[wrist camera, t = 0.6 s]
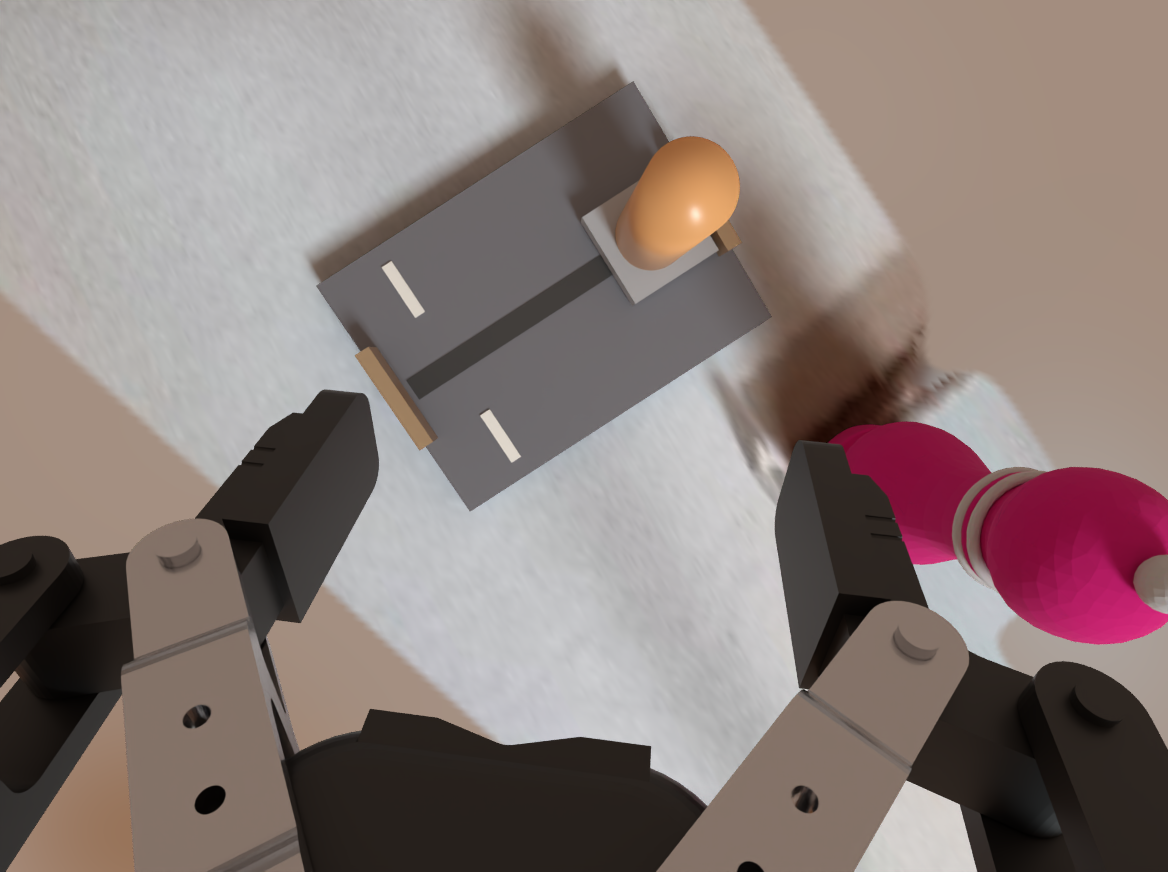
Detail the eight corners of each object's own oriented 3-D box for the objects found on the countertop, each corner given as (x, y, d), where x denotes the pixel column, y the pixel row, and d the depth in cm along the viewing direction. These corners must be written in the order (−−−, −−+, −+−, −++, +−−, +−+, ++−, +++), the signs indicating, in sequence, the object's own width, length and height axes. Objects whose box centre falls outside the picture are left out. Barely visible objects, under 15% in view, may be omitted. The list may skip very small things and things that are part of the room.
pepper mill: (831, 397, 39) (1143, 433, 19) (944, 440, 39) (1359, 518, 19) (784, 515, 39) (1039, 671, 19) (896, 555, 40) (1252, 746, 20)
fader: (580, 222, 35) (598, 164, 25) (662, 169, 35) (714, 89, 25) (632, 305, 35) (670, 282, 25) (712, 253, 35) (783, 210, 25)
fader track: (325, 289, 36) (304, 281, 33) (629, 92, 36) (638, 65, 33) (472, 505, 38) (466, 519, 34) (762, 318, 38) (783, 314, 34)
